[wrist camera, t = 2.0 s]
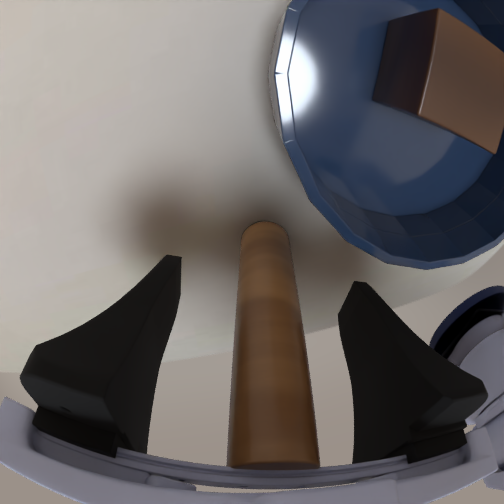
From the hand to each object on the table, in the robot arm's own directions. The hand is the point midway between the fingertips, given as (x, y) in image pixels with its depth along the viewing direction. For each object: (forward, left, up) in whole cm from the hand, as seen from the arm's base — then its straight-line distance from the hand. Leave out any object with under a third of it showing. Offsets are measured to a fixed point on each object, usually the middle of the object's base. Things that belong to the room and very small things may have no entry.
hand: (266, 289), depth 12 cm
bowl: (+9, -5, -4) cm, 11 cm away
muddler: (0, 0, -4) cm, 4 cm away
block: (+10, -5, -3) cm, 12 cm away
